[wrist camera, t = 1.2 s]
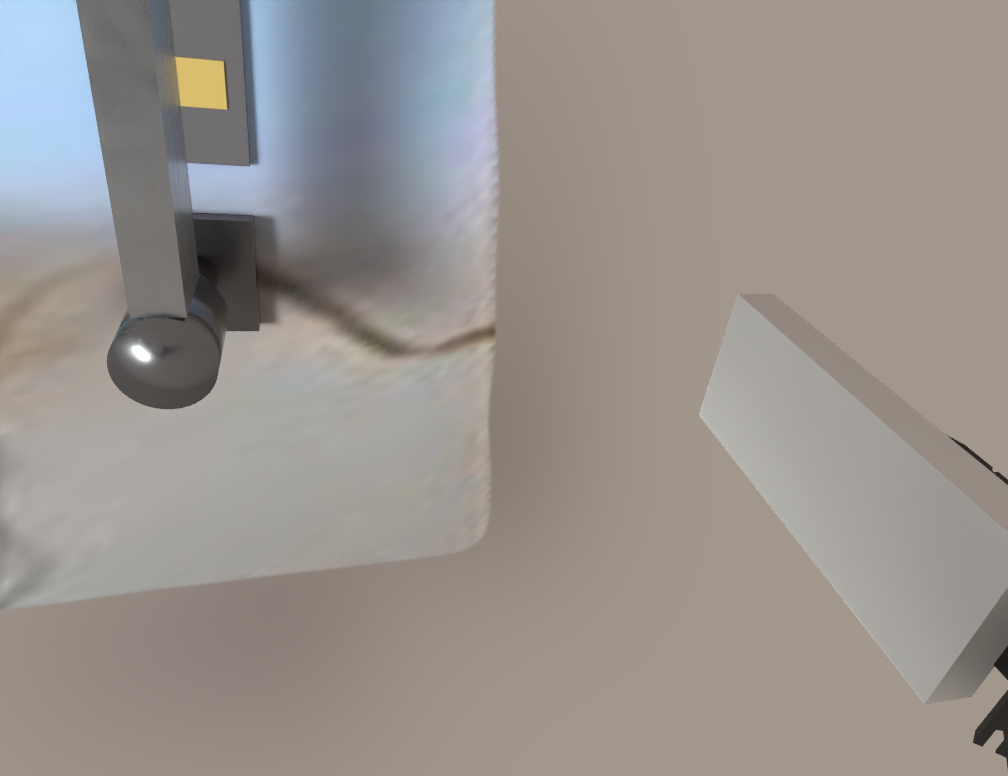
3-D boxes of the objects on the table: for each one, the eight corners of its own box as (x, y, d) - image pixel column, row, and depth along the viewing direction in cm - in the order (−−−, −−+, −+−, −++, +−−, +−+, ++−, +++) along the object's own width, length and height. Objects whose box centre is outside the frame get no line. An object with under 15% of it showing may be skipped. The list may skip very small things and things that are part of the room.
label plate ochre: (109, 156, 32) (107, 158, 32) (80, -22, 28) (77, -21, 28) (250, 164, 34) (249, 166, 33) (239, -3, 30) (238, -2, 30)
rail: (138, 350, 32) (116, 410, 29) (30, -297, 21) (-34, -345, 17) (231, 350, 34) (222, 407, 30) (177, -267, 22) (149, -306, 18)
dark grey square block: (137, 323, 36) (119, 365, 33) (118, 209, 33) (97, 243, 30) (260, 323, 38) (255, 364, 35) (253, 215, 35) (247, 248, 31)
